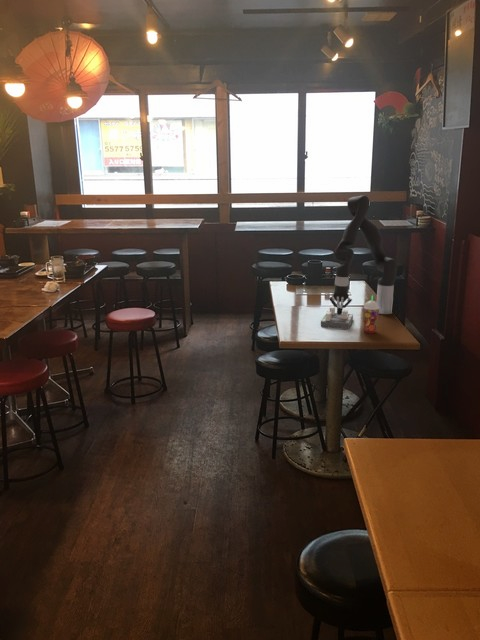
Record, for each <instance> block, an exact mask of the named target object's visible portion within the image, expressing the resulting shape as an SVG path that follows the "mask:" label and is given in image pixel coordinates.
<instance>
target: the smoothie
mask: <svg viewBox="0 0 480 640" xmlns="http://www.w3.org/2000/svg"><path fill="white" fill-rule="evenodd" d="M379 308H380V307H379V305H378V303H377V302H376V300H374V295H371V300H368V301H366V302H365V304H364V305H363V310H362V311H363V312H362V314H363V320H362V321H363V326H362V327H363V328H362V330H363V332H364V333H367V334H375V333H376V331H377V329H378V327H377V326H378V321H379Z"/></svg>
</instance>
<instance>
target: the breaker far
mask: <svg viewBox="0 0 480 640" xmlns="http://www.w3.org/2000/svg"><path fill="white" fill-rule="evenodd" d="M329 312H332V315H334V314H335V313H336V307H334V305H331V306H330V307H329Z"/></svg>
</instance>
